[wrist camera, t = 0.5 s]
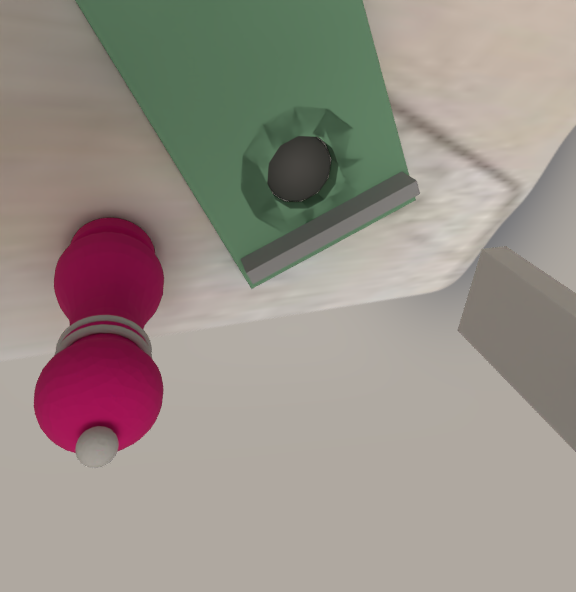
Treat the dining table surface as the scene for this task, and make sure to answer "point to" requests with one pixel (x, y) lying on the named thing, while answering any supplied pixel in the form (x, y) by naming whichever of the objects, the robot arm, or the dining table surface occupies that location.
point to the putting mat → (265, 117)
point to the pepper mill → (103, 344)
